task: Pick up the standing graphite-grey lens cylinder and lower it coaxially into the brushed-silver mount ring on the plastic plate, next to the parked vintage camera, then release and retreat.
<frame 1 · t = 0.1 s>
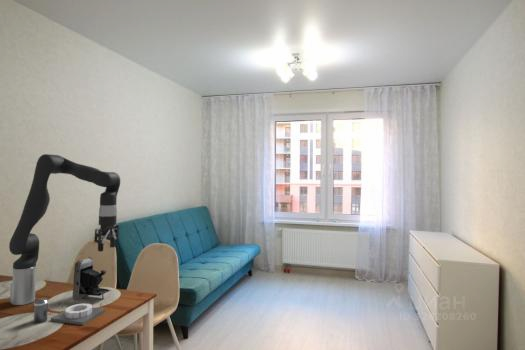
hand: (106, 249, 151), 29 cm above the table, fingers open, 8 cm apart
mount: (78, 316, 146), on the table
vintage camera: (92, 298, 167), on the table
lens: (40, 320, 140), on the table
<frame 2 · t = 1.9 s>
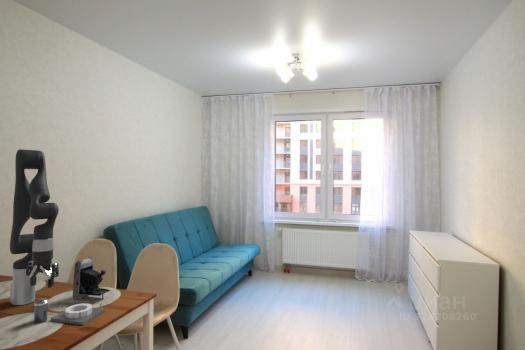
hand: (41, 286, 140), 15 cm above the table, fingers open, 8 cm apart
nothing on the table moved.
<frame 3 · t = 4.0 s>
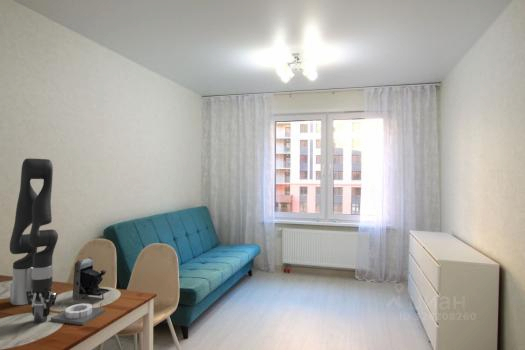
hand: (40, 315, 140), 2 cm above the table, fingers closed on lens, 4 cm apart
lens: (40, 320, 140), on the table, touching gripper
everything else where it was.
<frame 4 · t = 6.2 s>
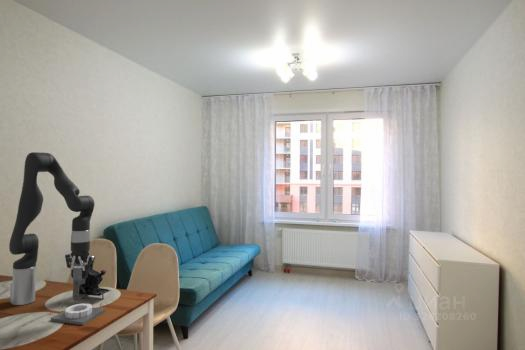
hand: (79, 277, 146), 17 cm above the table, fingers closed on lens, 4 cm apart
lens: (79, 283, 145), point 15 cm above the table, touching gripper
everything else where it was.
when the fingers open (5 cm above the table, at t = 8.6 s): lens drops 1 cm, resting on mount.
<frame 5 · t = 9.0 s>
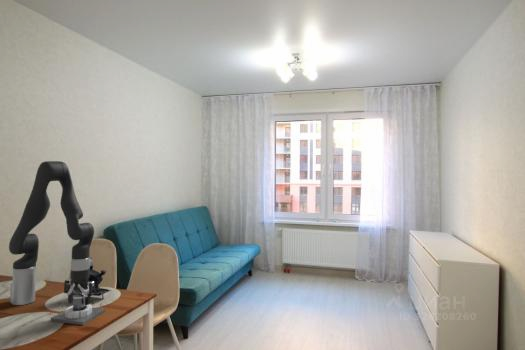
hand: (79, 303, 146), 6 cm above the table, fingers open, 8 cm apart
lens: (78, 313, 146), point 1 cm above the table, touching mount
everything else where it was.
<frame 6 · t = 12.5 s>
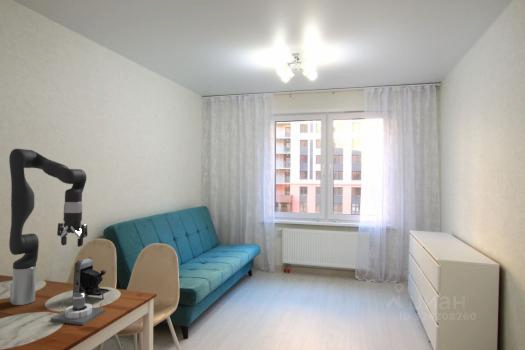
hand: (71, 245, 152), 30 cm above the table, fingers open, 8 cm apart
nothing on the table moved.
at the end: lens 0.1 cm off-centre on the mount, point 1.2 cm above the mount's base; lens tilted 1°; the gripper is holding nothing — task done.
